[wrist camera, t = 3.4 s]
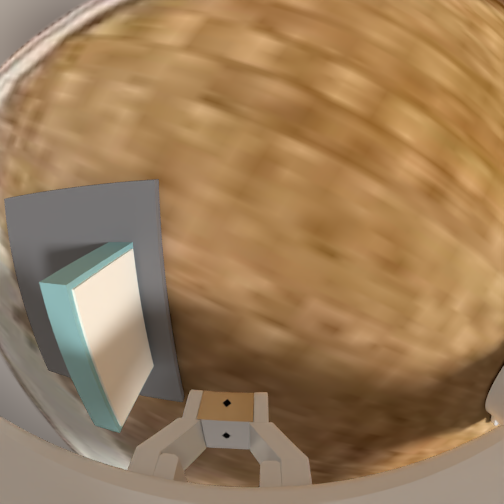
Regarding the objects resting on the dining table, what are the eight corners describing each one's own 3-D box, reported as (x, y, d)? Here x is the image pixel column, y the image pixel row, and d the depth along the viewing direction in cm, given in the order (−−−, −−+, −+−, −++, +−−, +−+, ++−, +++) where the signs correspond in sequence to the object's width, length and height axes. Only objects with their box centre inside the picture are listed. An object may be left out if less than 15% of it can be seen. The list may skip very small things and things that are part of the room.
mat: (158, 179, 15) (154, 179, 14) (184, 396, 19) (182, 402, 19) (9, 197, 16) (4, 198, 15) (51, 366, 20) (48, 370, 20)
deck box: (134, 242, 15) (68, 285, 9) (155, 366, 18) (121, 433, 12) (108, 242, 15) (39, 282, 9) (132, 362, 18) (95, 425, 12)
